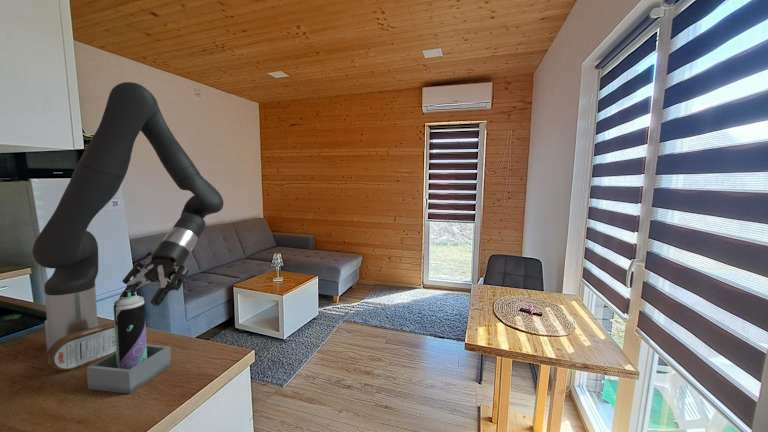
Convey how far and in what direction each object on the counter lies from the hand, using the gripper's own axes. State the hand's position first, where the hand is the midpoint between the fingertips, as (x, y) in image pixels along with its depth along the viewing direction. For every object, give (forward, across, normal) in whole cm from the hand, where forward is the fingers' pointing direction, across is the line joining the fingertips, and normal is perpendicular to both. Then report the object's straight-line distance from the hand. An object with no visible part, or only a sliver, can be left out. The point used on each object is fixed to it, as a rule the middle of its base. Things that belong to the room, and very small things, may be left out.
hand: (138, 303), depth 71 cm
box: (+14, 0, +10) cm, 17 cm away
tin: (+11, -16, +13) cm, 24 cm away
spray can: (+13, 0, +10) cm, 16 cm away
